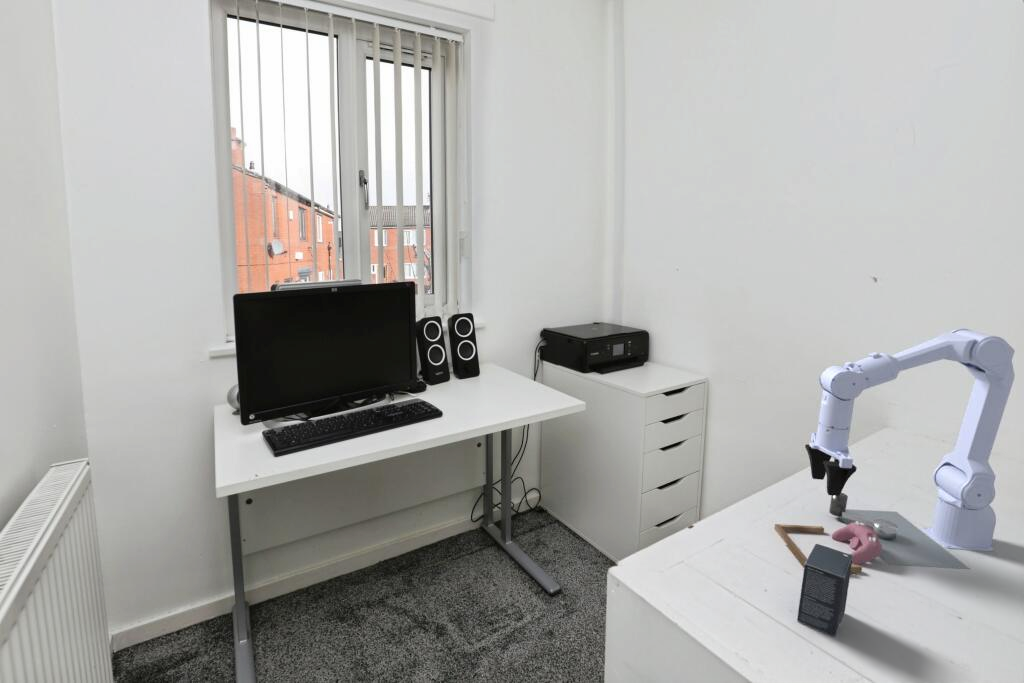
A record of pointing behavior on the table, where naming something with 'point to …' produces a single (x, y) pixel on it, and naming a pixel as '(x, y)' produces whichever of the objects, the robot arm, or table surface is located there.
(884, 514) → the plate
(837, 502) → the crank
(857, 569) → the bay
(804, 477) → the table surface
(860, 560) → the video game controller
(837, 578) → the box
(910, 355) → the robot arm
